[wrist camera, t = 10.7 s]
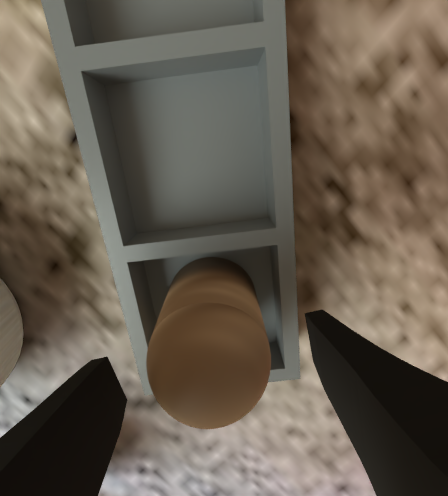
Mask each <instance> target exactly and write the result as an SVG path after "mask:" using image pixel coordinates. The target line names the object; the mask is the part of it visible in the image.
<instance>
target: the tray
mask: <svg viewBox="0 0 448 496" xmlns="http://www.w3.org/2000/svg"><path fill="white" fill-rule="evenodd" d="M41 2H42V6H43V9H44V13H45V17H46V21H47V25H48V29H49V32H50V36H51V40H52V44H53V48H54V51H55V55H56V59H57V63H58V67H59V71H60V74H61V78H62V82H63V86H64V90H65V93H66V97H67V101H68V105H69V109H70V112H71V116H72V120H73V124H74V128H75V132H76V135H77V139H78V143H79V147H80V151H81V154H82V158H83V162H84V166H85V170H86V174H87V177H88V181H89V185H90V189H91V193H92V196H93V200H94V204H95V208H96V212H97V216H98V219H99V223H100V227H101V231H102V235H103V238H104V242H105V246H106V250H107V254H108V257H109V261H110V265H111V269H112V273H113V277H114V280H115V284H116V288H117V292H118V296H119V299H120V303H121V307H122V311H123V315H124V319H125V322H126V326H127V330H128V334H129V338H130V341H131V345H132V349H133V353H134V357H135V361H136V364H137V368H138V372H139V376H140V380H141V383H142V387H143V391H144V395H152V394H153V392H152V390H151V387H150V384H149V381H148V376H147V369H146V358H147V350H148V346H149V342H150V339H151V336H152V333H153V331H154V328H155V325H156V323H157V320H158V317H159V315H160V312H161V309H162V307H163V304H164V301H165V299H166V296H167V293H168V291H169V288H170V285H171V283H172V281H173V279H174V277H175V275H176V274H177V273H178V272H179V270H180V269H181V268H183V267H184V266H185V265H187V264H188V263H190V262H192V261H194V260H197V259H200V258H206V257H219V258H224V259H227V260H230V261H232V262H234V263H236V264H237V265H239V266H240V267H242V268H243V269H244V270H245V271H246V272H247V273H248V275H249V276H250V278H251V280H252V282H253V284H254V288H255V291H256V295H257V299H258V303H259V307H260V311H261V314H262V318H263V322H264V326H265V330H266V334H267V337H268V341H269V346H270V352H271V370H270V375H269V380H268V382H275V381H284V380H294V379H300V358H299V334H298V309H297V285H296V260H295V236H294V211H293V187H292V162H291V138H290V113H289V89H288V64H287V40H286V15H285V0H41Z"/></svg>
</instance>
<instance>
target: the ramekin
mask: <svg viewBox="0 0 448 496" xmlns="http://www.w3.org/2000/svg"><path fill="white" fill-rule="evenodd" d="M22 344H23V323H22V317H21V313H20V310H19V307H18V304H17V302H16V300H15V298H14V296H13V294H12V293H11V291H10V290H9V288H8V287H7V286H6V284H5V283H4V282H3V280H2V279H1V278H0V387H1V386H2V384H3V383H4V382H5V380H6V379H7V377H8V376H9V375H10V373H11V372H12V370H13V369H14V367H15V365H16V363H17V360H18V358H19V356H20V353H21V348H22Z"/></svg>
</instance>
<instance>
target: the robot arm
mask: <svg viewBox="0 0 448 496" xmlns="http://www.w3.org/2000/svg"><path fill="white" fill-rule="evenodd" d="M305 317H306V323H307V329H308V334H309V340H310V346H311V351H312V357H313V362H314V364H315V367H316V370H317V372H318V375H319V377H320V380H321V382H322V385H323V388H324V390H325V392H326V394H327V396H328V398H329V400H330V402H331V404H332V406H333V407H334V409H335V411H336V413H337V415H338V417H339V419H340V421H341V423H342V425H343V427H344V429H345V431H346V433H347V435H348V436H349V438H350V440H351V442H352V444H353V446H354V448H355V450H356V452H357V454H358V456H359V458H360V460H361V462H362V464H363V466H364V468H365V470H366V472H367V474H368V477H369V479H370V481H371V484H372V486H373V488H374V491H375V493H376V495H377V496H448V382H446V381H444V380H442V379H440V378H438V377H436V376H433V375H431V374H429V373H427V372H425V371H423V370H421V369H419V368H417V367H415V366H413V365H411V364H409V363H407V362H405V361H403V360H401V359H399V358H397V357H396V356H394V355H392V354H390V353H388V352H387V351H385V350H383V349H381V348H380V347H378V346H376V345H375V344H373V343H372V342H370V341H368V340H367V339H365V338H364V337H362V336H361V335H359V334H357V333H356V332H354V331H353V330H351V329H350V328H348V327H347V326H346V325H344V324H343V323H341V322H340V321H338V320H337V319H335V318H334V317H333V316H331V315H330V314H328V313H327V312H325V311H324V310H318V311H314V312H309V313H305ZM126 403H127V398H126V396H125V394H124V392H123V390H122V387H121V385H120V383H119V381H118V379H117V377H116V374H115V372H114V370H113V368H112V366H111V363H110V361H109V359H108V357H104V358H99V359H94V360H91V361H90V362H88V363H87V364H86V365H84V366H83V367H82V368H81V369H80V370H78V371H77V372H76V373H75V374H74V375H72V376H71V377H70V378H69V379H68V380H67V381H66V382H64V383H63V384H62V385H61V386H60V387H59V388H58V389H57V390H55V391H54V392H53V393H52V394H51V395H50V396H49V397H48V398H46V399H45V400H44V401H43V402H42V403H41V404H40V405H39V406H37V407H36V408H35V409H34V410H33V411H32V412H30V413H29V414H28V415H27V416H26V417H24V418H23V419H22V420H21V421H20V422H19V423H17V424H16V425H15V426H14V427H13V428H11V429H10V430H9V431H8V432H7V433H6V434H4V435H3V436H2V437H1V438H0V496H98V494H99V491H100V488H101V485H102V482H103V479H104V477H105V474H106V471H107V468H108V465H109V462H110V460H111V457H112V454H113V451H114V448H115V445H116V442H117V439H118V436H119V433H120V430H121V426H122V422H123V418H124V413H125V408H126Z"/></svg>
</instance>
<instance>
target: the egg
mask: <svg viewBox="0 0 448 496" xmlns="http://www.w3.org/2000/svg"><path fill="white" fill-rule="evenodd" d="M146 369H147V376H148V381H149V384H150V387H151V390H152V392H153V394H154V396H155V398H156V400H157V401H158V403H159V404H160V406H161V407H162V408H163V409H164V410H165V411H166V412H167V413H168V414H169V415H170V416H171V417H173V418H174V419H176V420H177V421H179V422H181V423H183V424H185V425H188V426H191V427H195V428H200V429H215V428H220V427H224V426H227V425H230V424H232V423H234V422H236V421H238V420H240V419H241V418H243V417H244V416H245V415H246V414H247V413H249V412H250V411H251V410H252V409H253V408H254V406H255V405H256V404H257V402H258V401H259V400H260V398H261V397H262V395H263V393H264V391H265V388H266V386H267V383H268V380H269V375H270V370H271V352H270V346H269V341H268V337H267V334H266V330H265V326H264V322H263V318H262V314H261V311H260V307H259V303H258V299H257V295H256V291H255V288H254V284H253V282H252V280H251V278H250V276H249V275H248V273H247V272H246V271H245V270H244V269H243V268H242V267H240V266H239V265H237V264H236V263H234V262H232V261H230V260H227V259H224V258H219V257H206V258H200V259H197V260H194V261H192V262H190V263H188V264H187V265H185V266H184V267H183V268H181V269H180V270H179V272H178V273H177V274H176V275H175V277H174V279H173V281H172V283H171V285H170V288H169V291H168V293H167V296H166V299H165V301H164V304H163V307H162V309H161V312H160V315H159V317H158V320H157V323H156V325H155V328H154V331H153V333H152V336H151V339H150V342H149V346H148V350H147V358H146Z"/></svg>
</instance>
